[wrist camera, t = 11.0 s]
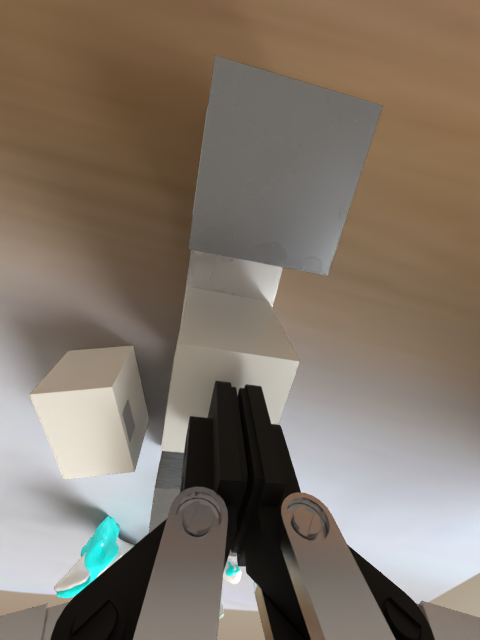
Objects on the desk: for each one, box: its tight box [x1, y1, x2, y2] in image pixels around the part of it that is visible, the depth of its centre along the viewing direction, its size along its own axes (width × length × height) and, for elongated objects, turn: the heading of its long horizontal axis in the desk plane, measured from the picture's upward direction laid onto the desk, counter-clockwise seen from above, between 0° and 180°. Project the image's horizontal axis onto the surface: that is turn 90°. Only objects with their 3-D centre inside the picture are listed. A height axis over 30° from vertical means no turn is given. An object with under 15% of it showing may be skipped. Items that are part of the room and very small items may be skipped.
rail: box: [149, 56, 383, 556], centre depth 15 cm, size 5×22×8 cm, turn 169°
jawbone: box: [54, 516, 242, 618], centre depth 23 cm, size 12×8×9 cm, turn 87°
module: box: [161, 287, 300, 453], centre depth 14 cm, size 5×5×6 cm
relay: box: [29, 345, 149, 479], centre depth 18 cm, size 4×6×4 cm
